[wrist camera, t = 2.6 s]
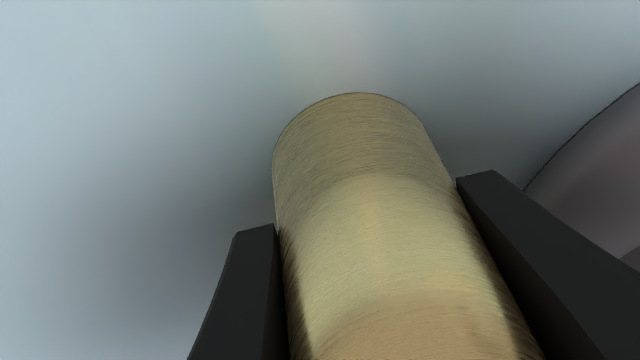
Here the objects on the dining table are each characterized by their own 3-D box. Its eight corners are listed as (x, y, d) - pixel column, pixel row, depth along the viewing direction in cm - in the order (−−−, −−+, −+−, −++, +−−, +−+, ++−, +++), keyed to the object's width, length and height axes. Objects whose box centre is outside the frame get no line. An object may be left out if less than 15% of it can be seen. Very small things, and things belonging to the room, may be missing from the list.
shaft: (441, 243, 13) (615, 642, 7) (304, 277, 13) (364, 698, 7) (420, 74, 10) (661, 470, 5) (252, 116, 10) (279, 559, 5)
